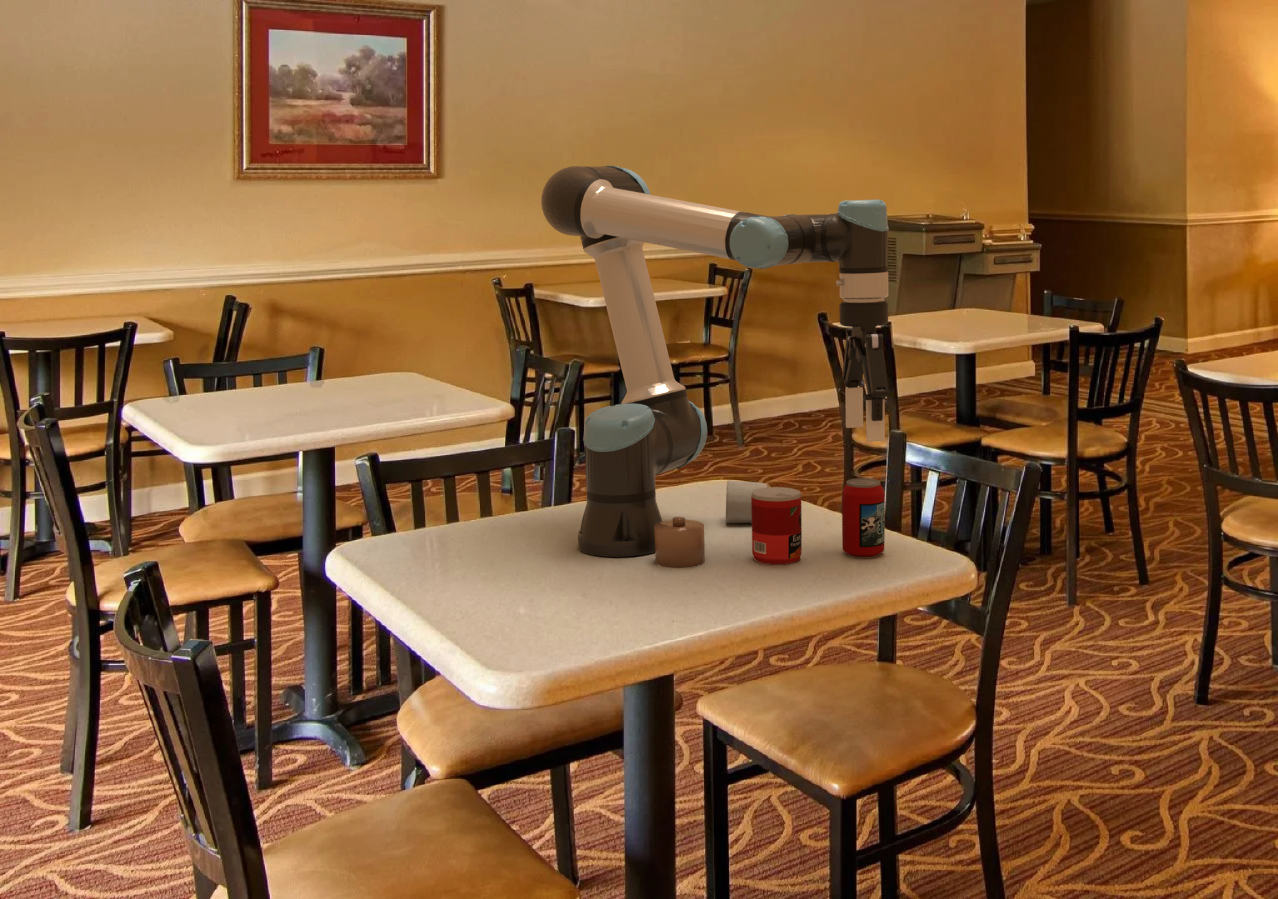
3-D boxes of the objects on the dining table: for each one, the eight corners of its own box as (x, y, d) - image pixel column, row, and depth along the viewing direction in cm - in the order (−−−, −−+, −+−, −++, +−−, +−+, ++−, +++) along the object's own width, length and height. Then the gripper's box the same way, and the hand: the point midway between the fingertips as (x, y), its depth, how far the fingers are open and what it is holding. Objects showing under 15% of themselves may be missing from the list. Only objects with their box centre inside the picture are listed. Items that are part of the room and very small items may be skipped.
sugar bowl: (645, 563, 212) (643, 520, 210) (676, 552, 218) (675, 510, 216) (684, 571, 207) (682, 526, 205) (714, 559, 213) (713, 516, 211)
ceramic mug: (772, 527, 233) (771, 484, 231) (725, 527, 233) (724, 485, 232) (770, 514, 243) (770, 473, 242) (726, 514, 244) (725, 473, 242)
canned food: (799, 565, 207) (799, 497, 205) (749, 564, 209) (748, 496, 207) (803, 553, 215) (803, 487, 213) (754, 552, 216) (753, 486, 214)
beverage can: (875, 561, 208) (875, 487, 206) (835, 556, 212) (835, 484, 210) (890, 551, 214) (891, 479, 212) (852, 547, 217) (851, 476, 215)
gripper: (822, 296, 217) (824, 422, 221) (859, 306, 193) (860, 448, 197) (867, 294, 218) (868, 420, 222) (909, 304, 193) (909, 446, 197)
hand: (864, 434), depth 209 cm, fingers open, 13 cm apart
